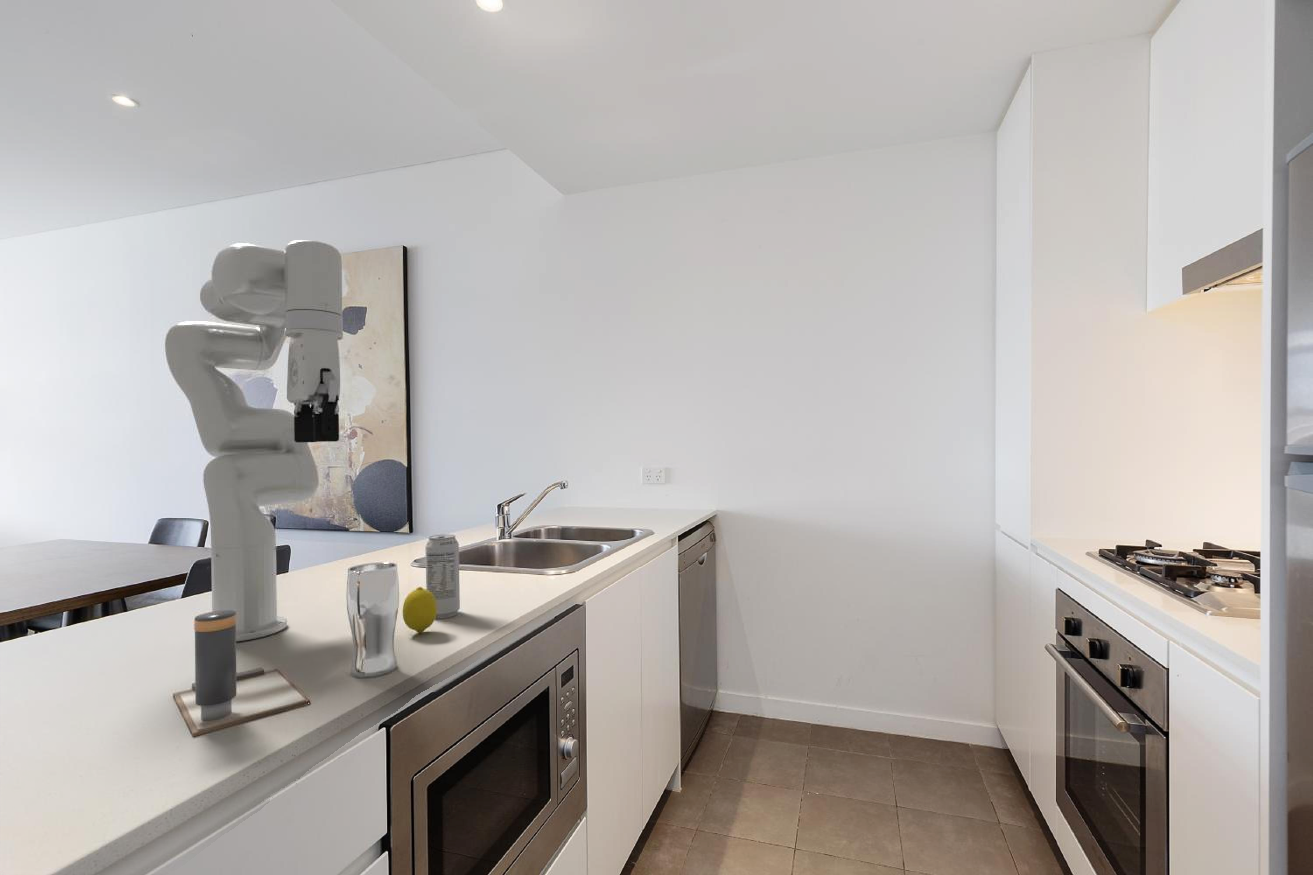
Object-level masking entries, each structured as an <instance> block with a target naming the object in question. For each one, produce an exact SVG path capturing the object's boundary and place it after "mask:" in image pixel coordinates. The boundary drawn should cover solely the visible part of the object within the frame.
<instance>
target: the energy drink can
mask: <svg viewBox="0 0 1313 875" xmlns="http://www.w3.org/2000/svg"><path fill="white" fill-rule="evenodd" d="M459 545H460V544H459V542H458V540H457V539H456V535H455V534H436V535H431V536H428V541H427V543H426V545H425V589H426V590H428V591H430V592H431V593H432V594H433V596H434V598H435V601H436V605H437V614H436V618H435V619H447V618H451V617H454V616H457V615H458V611H459V610H460V608H461V607H460V606H461V604H460V603H461V602H460V601H461V600H460V599H461V598H460V592H461V591H460V546H459Z"/></svg>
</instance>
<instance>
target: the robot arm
mask: <svg viewBox="0 0 1313 875" xmlns="http://www.w3.org/2000/svg"><path fill="white" fill-rule="evenodd" d="M342 265H343V262H342V255H341V253H340V251H339V250H338V248H336V247H335V246H333V245H331V244H328V243H326V242H322V241H317V240H310V239H309V240H308V239H306V240H305V239H303V240H302V239H300V240H293V241H291V242H289V243H287V245H286V246H285V248H284V250H281V249H277V248H271V247H268V246H263V245H262V246H261V245H258V244H257V245H256V244H251V243H234V244H231V245H229V246H227V247H225V248H223V249H220V251H219V252H218V253H217V255H216V257H215V258H214V261H213V265H212V269H211V278H210V279H208V280H207V281H206V282H205V283H204V284H203V285H202V287H201V288H200V292H199V293H200V294H199V300H200V303H201V305H202V307H203V309H204V310H205V311H206V312H207V313H208V314H210V315H211V316H212V317H214V318H216V319H218V320H220V321H223V322H224V321H225V322H230V323H236V325H234V324H229V323H228V324H227V323H220V322H212V321H196V320H195V321H194V320H193V321H183V322H180V323H177V324H175V325H173V326H171V327H170V329H169V330H168V331H167V333H166V334H165V340H164V341H165V342H164V351H165V356H166V357H165V358H166V361H167V366H168V368H169V371H170V373H171V375H172V377H173V380H175V383H176V384H177V386H179V388H180V390H181V391H182V393H183V394H184V395H185V398H186V399H187V400H188V402H189V404H190V407H191V412H192V414H193V418H194V421H195V424H196V428H197V431H198V435H199V438H200V441H201V443H202V446H203V448H204V449H205V451H206V452H207V453H208V455H210V456H211V457H214V458H213V459H211V460H210V461H209V462H208V463H207V464H206V466H205V468H204V470H203V475H202V479H203V480H202V481H203V487H204V492H205V497H206V502H207V506H208V515H209V523H210V524H209V525H210V551H211V552H210V553H211V554H210V555H211V559H210V560H211V565H210V566H211V612H214V611H224V610H232V611H236V643H237V642H243V641H249V640H254V639H259V638H263V637H268V636H270V635H274V634H275V633H276V634H277V633H278V632H280V631H282V630H284V629H285V628H287V626H288V619H287V618H286V617H284V616H280V615H278V605H277V604H278V603H277V602H278V600H277V598H278V596H277V594H278V593H277V592H278V591H277V589H278V588H277V584H278V583H277V538H276V537H277V535H276V530H275V527H274V524H273V523H272V522H271V520H270V519H269V518H268V517H267V516H266V515H265V514H264V513H263V512H262V510H260V507H265V506H275V505H283V504H295V503H302V502H305V501H308V500H310V499H312V498H313V497H314V496H315V494H316V493H317V491H318V487H319V472H318V467H317V465H316V461H315V460H314V456H313V454H312V451H311V449H310V448H311V447H310V446H309V443H317V442H320V443H321V442H330V443H331V442H338V441H340V414H339V413H340V407H339V406H340V405H339V403H338V402H339V401H340V393H341V365H340V364H341V362H340V361H341V360H340V352H339V351H340V350H339V341H341V340H343V339H344V338H343V337H344V336H343V335H344V331H343V330H344V329H343V328H344V327H343V320H344V319H343V318H344V317H343V272H342V270H343V268H342V267H343V266H342ZM237 324H243V325H237ZM244 324H245V325H252V326H253V325H254V326H258V327H252V326H245V325H244ZM287 338H290V339H289V347H288V356H287V357H288V359H287V376H286V377H287V378H286V379H287V380H286V382H287V383H286V399H287V401H288V402H289V403H290V404H293V406H294V409H293V413H292V412H290V411H288V410H284V409H280V408H279V409H278V408H264V407H263V408H257V407H252V406H250V405H248V402H247V401H246V397H245V395H244V392H243V391H242V389H241V388H240V386H239V385H238V384H237V383H236V382H235V381H234V380H233V379H232V378H230V376H228V375H226V374H224V373H223V372H221V371H220V370H218V369H217V368H220V369H235V370H249V371H250V370H251V371H266V370H269V369H270V368H272V367H273V366H274V365H275V364H276V362H277V361H278V359H279V355H280V353H281V350H282V348H283V345H284V343H285V341H286V339H287Z"/></svg>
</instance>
